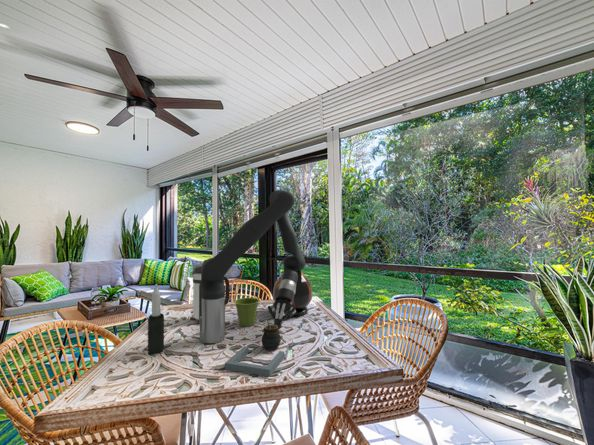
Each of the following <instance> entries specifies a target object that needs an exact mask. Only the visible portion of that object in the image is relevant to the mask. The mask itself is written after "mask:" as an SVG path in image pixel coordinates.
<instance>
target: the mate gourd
mask: <svg viewBox="0 0 594 445" xmlns="http://www.w3.org/2000/svg"><path fill="white" fill-rule="evenodd" d="M265 320H266V322H267V325H264V326H263V334H262V337H261V344H262V346H263V348H264V350H267V351H274V350H277V349H278V348H279V347H280V345H281V344H280V343H281V340H282V339H281V335H280V332H279V331H280V330H278V326H277V325H274V324H270V322H269V319H268V318H266V319H265Z"/></svg>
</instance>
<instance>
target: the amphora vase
mask: <svg viewBox="0 0 594 445" xmlns="http://www.w3.org/2000/svg"><path fill="white" fill-rule="evenodd" d="M283 262H284V259H283V260H281V261H280V264H281V265H283ZM293 271H295V272H296V273H297V274H298V280H297V284H296V291H295V295H294V299H293V303H292V305H293V308H295V310H296V313H295V314H294V315H293V316H292V317H300V316H304V315H306V314H308V312H309V309H308V306H309V305H310V303H311V301H312V300H313V288H312V285H311V282H310V280H309V278H308V277H307V276H306V275H305V274H304V272H303V271H302V270H293ZM283 273H284V271H283V272H282V273H281V274H280V275H279V276H278V278H277V279H276V280H275V283H274V287H273V289H272V299H273V301H274V302H275V301H276V296H277V293H278V290H279V286H280V284H281V281H282V278H283ZM288 312H289V311H288ZM288 312H287V313H288ZM287 313H286V314H287Z"/></svg>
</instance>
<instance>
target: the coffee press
mask: <svg viewBox="0 0 594 445" xmlns="http://www.w3.org/2000/svg"><path fill="white" fill-rule="evenodd" d="M206 260H207V259H204V260H203V263H204V262H205V261H206ZM202 265H203V264H200V265H196V266H195V267H194V268H193V269H192V272H191V274H190V277H189V278H192V284H193V285H192V286H193V287H192V291H193V292H192V293H193V294H192V295H193V296H192V301H193V302H192V304H193V306H192V313H193V314H192V316H191V318H190V319H191V320H192V321H193V320H197V324H198V325H200V316H202V292H201V268H202ZM224 284H225V306H226V305H228V303H229V302H230V280H229V279H228V277H226V276H225V275H224Z"/></svg>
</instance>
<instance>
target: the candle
mask: <svg viewBox="0 0 594 445" xmlns="http://www.w3.org/2000/svg"><path fill="white" fill-rule="evenodd" d="M164 349H165V315H164V313H162V312H161V291H160V290H159V288H158V284H157V283H156V284H154V289H153V291H152V293H151V314H149V316H148V319H147V355H148V356H151V355H158V354H159V355H160V354H161V353H163V352H164Z"/></svg>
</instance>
